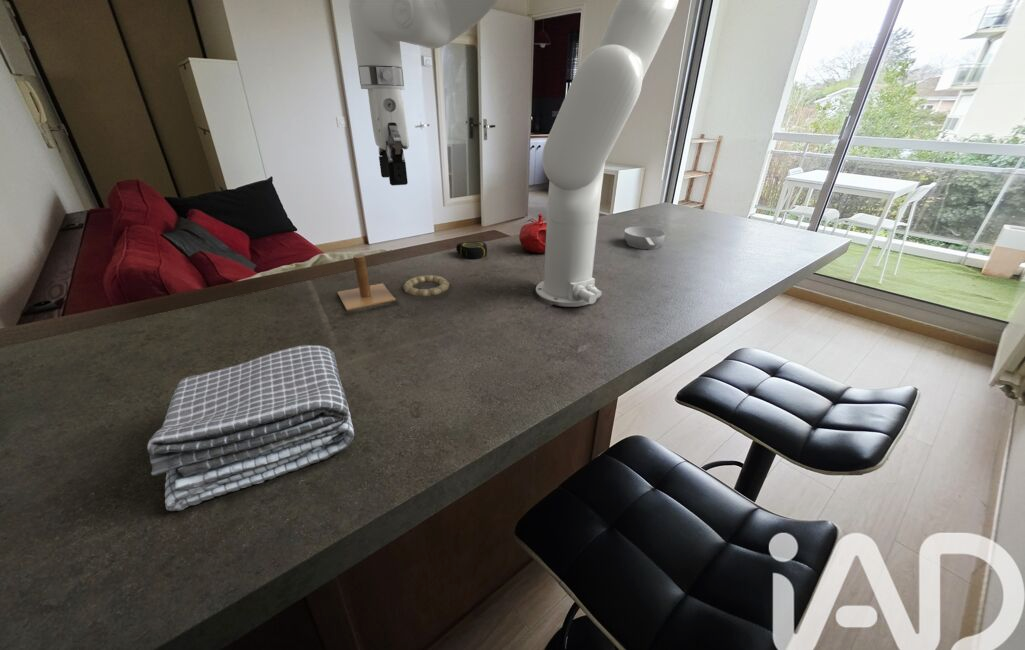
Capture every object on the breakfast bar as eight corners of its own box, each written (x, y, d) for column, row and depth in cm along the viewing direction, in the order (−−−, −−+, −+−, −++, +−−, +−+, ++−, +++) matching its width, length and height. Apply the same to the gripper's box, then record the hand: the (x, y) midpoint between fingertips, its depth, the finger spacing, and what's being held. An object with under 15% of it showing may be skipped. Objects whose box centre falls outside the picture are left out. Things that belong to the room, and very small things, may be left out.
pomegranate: (511, 251, 109) (512, 215, 104) (532, 241, 116) (533, 208, 112) (544, 258, 104) (545, 221, 99) (563, 248, 111) (565, 213, 107)
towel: (361, 451, 46) (349, 395, 43) (159, 519, 39) (122, 458, 35) (340, 380, 58) (329, 331, 54) (181, 421, 50) (155, 368, 47)
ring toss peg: (396, 304, 80) (389, 259, 75) (347, 315, 76) (338, 267, 71) (383, 288, 87) (376, 245, 82) (338, 297, 82) (328, 252, 78)
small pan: (659, 239, 119) (661, 226, 117) (671, 260, 103) (674, 245, 102) (621, 237, 120) (622, 224, 118) (627, 258, 105) (629, 243, 103)
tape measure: (481, 252, 108) (481, 238, 106) (491, 260, 102) (491, 246, 100) (456, 255, 105) (455, 241, 103) (464, 264, 100) (464, 249, 98)
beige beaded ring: (456, 293, 84) (455, 285, 84) (412, 303, 80) (411, 294, 79) (439, 279, 91) (438, 271, 90) (398, 287, 87) (397, 279, 86)
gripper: (413, 78, 68) (423, 186, 76) (394, 82, 82) (404, 173, 90) (366, 77, 65) (381, 189, 73) (354, 81, 79) (368, 175, 87)
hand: (394, 180), depth 82 cm, fingers open, 9 cm apart
